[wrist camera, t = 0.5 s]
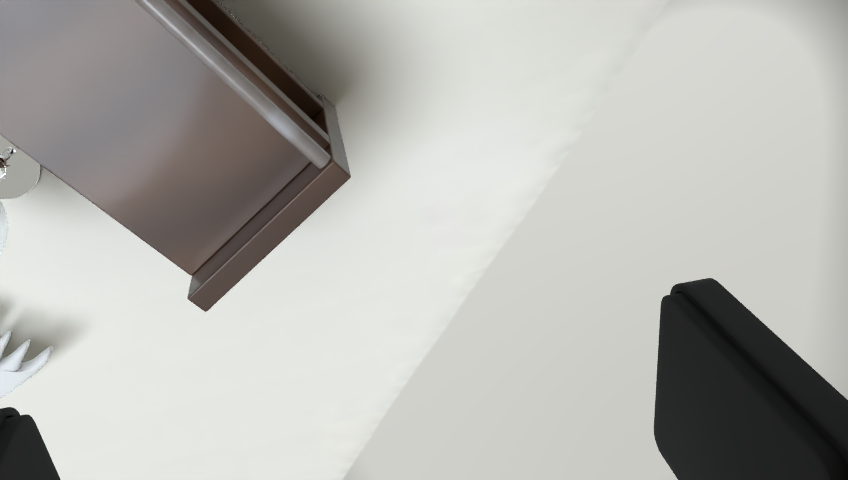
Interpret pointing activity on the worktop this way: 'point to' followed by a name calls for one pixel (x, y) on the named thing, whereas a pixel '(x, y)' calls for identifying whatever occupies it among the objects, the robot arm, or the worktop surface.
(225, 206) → the rack
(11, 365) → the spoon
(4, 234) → the wineglass
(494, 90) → the worktop surface
